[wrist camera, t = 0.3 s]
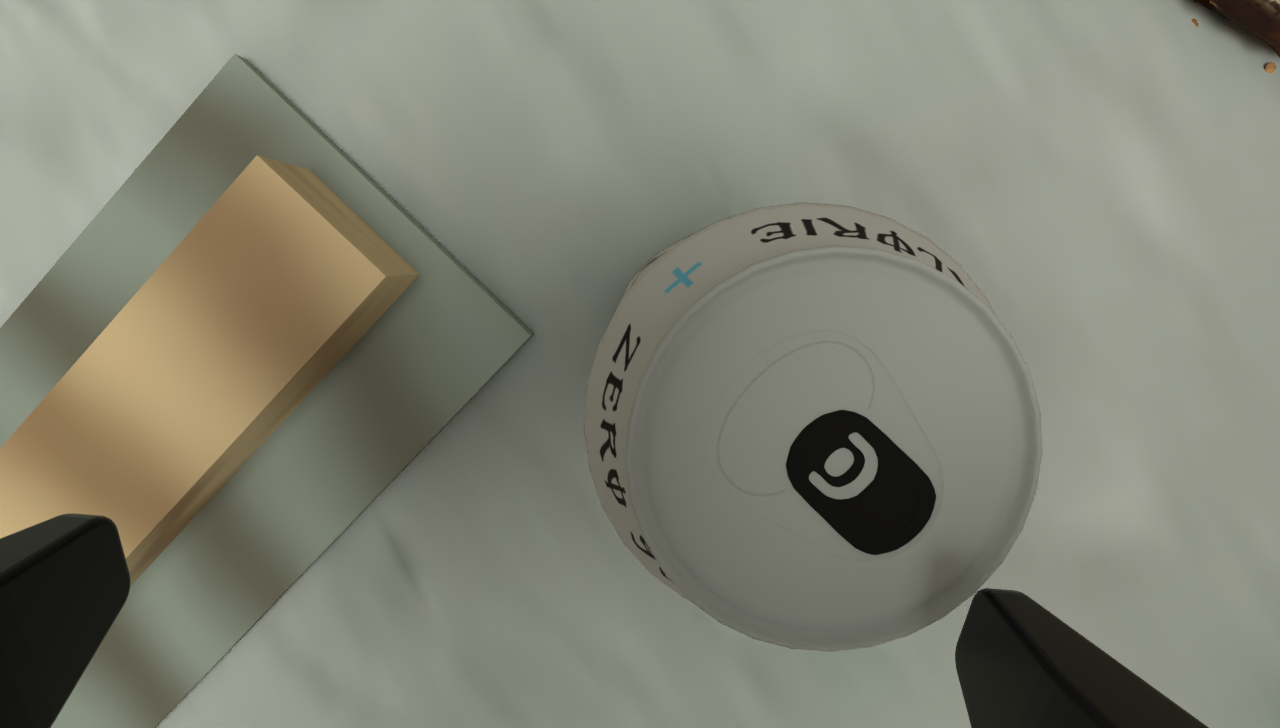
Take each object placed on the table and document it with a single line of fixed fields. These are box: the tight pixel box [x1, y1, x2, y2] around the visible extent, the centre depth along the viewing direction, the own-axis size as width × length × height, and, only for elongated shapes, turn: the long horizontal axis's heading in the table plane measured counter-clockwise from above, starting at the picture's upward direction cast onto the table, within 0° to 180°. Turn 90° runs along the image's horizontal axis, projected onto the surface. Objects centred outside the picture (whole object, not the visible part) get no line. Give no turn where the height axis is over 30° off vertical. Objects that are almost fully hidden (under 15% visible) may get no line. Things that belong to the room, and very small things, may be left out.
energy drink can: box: [584, 202, 1042, 651], centre depth 16 cm, size 6×6×15 cm
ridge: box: [0, 54, 533, 728], centre depth 22 cm, size 22×12×4 cm, turn 136°
